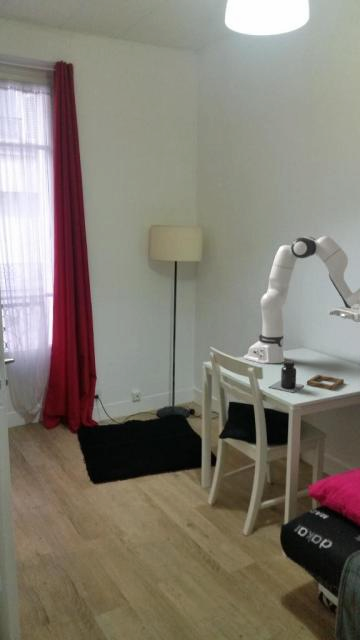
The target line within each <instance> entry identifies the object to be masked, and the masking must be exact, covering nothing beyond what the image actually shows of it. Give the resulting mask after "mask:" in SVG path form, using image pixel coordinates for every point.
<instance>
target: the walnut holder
mask: <svg viewBox="0 0 360 640" xmlns="http://www.w3.org/2000/svg"><path fill="white" fill-rule="evenodd" d="M319 381H323V382H319ZM324 382H329V383H332V384H328V383H324ZM344 383H345V381H344V379H343V378H338V377H332V376H327V375H323V374H322V375H321V374H317V375H315V376H313V377H311V378H310V379H308V380H307V381H306V385H307V386H310V387H313V388H319V389H324V390H329V391H335V390H337V389H338V388H340V387H341V386H342V385H343V384H344Z"/></svg>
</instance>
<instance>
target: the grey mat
mask: <svg viewBox="0 0 360 640" xmlns="http://www.w3.org/2000/svg"><path fill="white" fill-rule="evenodd" d="M304 386H305V385H304V384H301V383H296V387H295V388H293V389H286V388H282V387H281V379H279V380H278V381H277V382H275V383H273V384H271V385H270V386H268V389H271V388H272V390H277V391H282V392H286V393H291V394H294V393H295V392H296V391H298V390H301V388H303V387H304Z"/></svg>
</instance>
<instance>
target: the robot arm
mask: <svg viewBox="0 0 360 640" xmlns="http://www.w3.org/2000/svg"><path fill="white" fill-rule="evenodd" d="M314 255H315V256H317V257H318V258H319V259H320V260H321V261H322V263H323V264H325V265H324V266H326V268H327V270H328V271H327V272H328V277H329V280H330V281H331V283H332V285H333V286H334V288H335V290H336V291H337V293H338V294H339V296H340V298H341V300H342V302H343V304H344V306H335V307H334V306H333V307H331V310H329V311H328V315H330V316H336V317H341V319H343V320H345V319H348V320H352V321H353V322H355V323H360V287H359V288H358V289H357V290H356V291H354V292H353V291H352V290H351V288H350V287H349V285H348V284H347V281H346V280H345V279H344V278H345V271H346V269H347V268H348V264H349V257H348V255H347V253H346V252H345V251H344V250H343V249H342V247H341V246H340V245H339V244H338V243H337V242H336V241H335V240H334V239H332V238H331V237H330V236H328V235H324V236H321V237H319V238H318V239H315V238H314V237H312V236H307V235H306V236H301V237H298V238H296V239H294V240H293V242H292V244H290V245H289V244H283V245H281V246H280V247H279V248H278V250H277V251H276V254H275V256H274V259H273V263H272V267H271V270H270V274H269V278H268V279H269V281H268V287H267V291H266V293H264V294H263V295H262V296H261V299H260V306H261V307H260V308H261V317H262V331H261V332H262V333H261V334H260V335H258V336H257V339H259V340H258V341H257V342H255V343H253V344H252V345H251V346H250V347H249V348H248V351H247V352H248V353H246V354H245V355H244V356H243V359H245V360H249V361H252V362H256V363H259V364H263V365H264V364H265V365H266V364H267V365H268V364H281V363H284V361H286V359H285V357H284V356H285V355H284V348H283V345H284V333H283V332H284V320H283V306H284V305H285V304H286V301H287V297H288V294H289V287H290V282H291V278H292V277H293V272H294V268H295V264H296V262H297V260H298V259H307V258H310V257H312V256H314Z"/></svg>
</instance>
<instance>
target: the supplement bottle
mask: <svg viewBox="0 0 360 640" xmlns="http://www.w3.org/2000/svg"><path fill="white" fill-rule="evenodd" d="M280 369H281V371H280V372H281V373H280V380H281V387H282V388H286V389H293V388H295V387H296V384H297V369H296V367H295V361H294V360H293V361H292V360H285V361H284V362H283V366H282V367H281V368H280Z"/></svg>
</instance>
